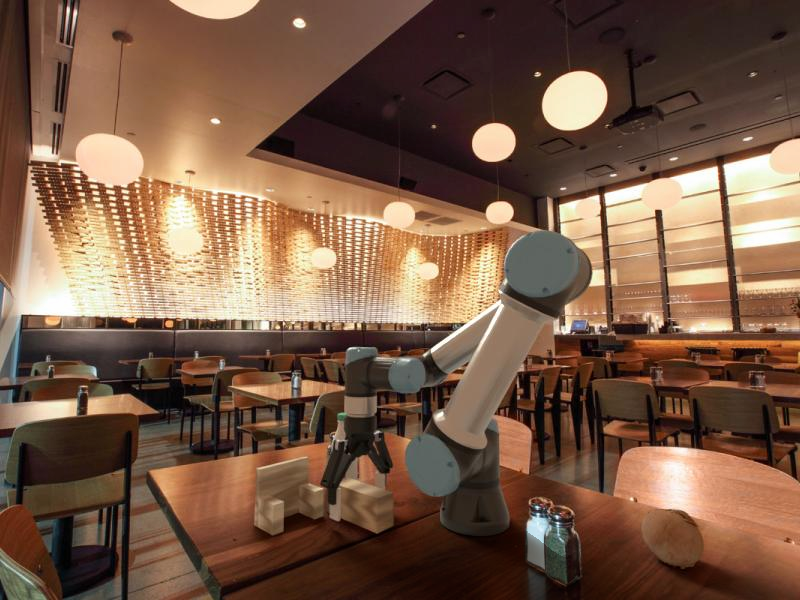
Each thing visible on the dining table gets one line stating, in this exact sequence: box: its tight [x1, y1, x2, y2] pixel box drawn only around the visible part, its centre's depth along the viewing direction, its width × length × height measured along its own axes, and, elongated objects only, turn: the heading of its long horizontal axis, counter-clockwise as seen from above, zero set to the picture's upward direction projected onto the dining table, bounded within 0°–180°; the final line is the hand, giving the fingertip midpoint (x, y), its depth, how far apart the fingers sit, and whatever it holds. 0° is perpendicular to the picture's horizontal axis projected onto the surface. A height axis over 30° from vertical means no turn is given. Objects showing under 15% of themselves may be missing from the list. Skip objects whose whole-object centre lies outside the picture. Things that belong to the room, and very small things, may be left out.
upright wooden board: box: [253, 456, 325, 536], centre depth 94 cm, size 8×13×12 cm, turn 138°
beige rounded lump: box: [640, 508, 705, 570], centre depth 75 cm, size 10×9×10 cm
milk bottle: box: [331, 412, 360, 481], centre depth 115 cm, size 8×8×20 cm
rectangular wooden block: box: [326, 474, 395, 534], centre depth 95 cm, size 17×5×8 cm, turn 48°
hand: (358, 509), depth 94 cm, fingers open, 13 cm apart
